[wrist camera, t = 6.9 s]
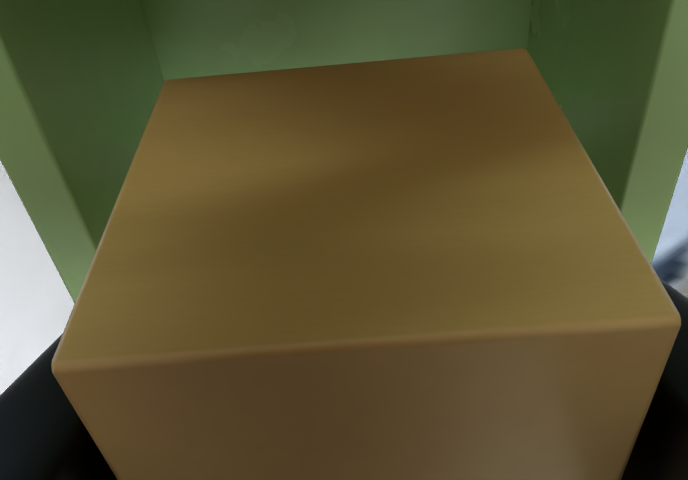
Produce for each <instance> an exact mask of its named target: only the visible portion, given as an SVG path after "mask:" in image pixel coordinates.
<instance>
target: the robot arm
mask: <svg viewBox="0 0 688 480" xmlns="http://www.w3.org/2000/svg"><path fill="white" fill-rule="evenodd" d="M659 279H660V278H659ZM660 281H661V283H662V284H663V286H664V288H665V290H666V291H667V293H668V295H669V296H670V298H671V300H672V302H673V303H674V305H675V307H676V309H677V310H678V312H679V314H680V318H681V327H680V329H679V332H678V334H677V337H676V340H675V342H674V345H673V347H672V350H671V352H670V355H669V357H668V360H667V363H666V365H665V368H664V370H663V373H662V375H661V378H660V381H659V383H658V386H657V388H656V391H655V393H654V396H653V398H652V401H651V404H650V406H649V409H648V411H647V414H646V416H645V419H644V422H643V424H642V427H641V429H640V432H639V434H638V437H637V439H636V442H635V445H634V447H633V450H632V452H631V455H630V457H629V460H628V463H627V465H626V468H625V470H624V473H623V475H622V478H621V480H688V298H686V297H685V296H683V295H682V294H681V293H679V292H678V291H677V290H675V289H674V288H672V287H671V286H670V285H668V284H667V283H665V282H664V281H663V280H661V279H660ZM62 335H63V334H62ZM62 335H61V336H60V337H59V338H58V339H57V340H56V341H55V342H54V343H53V344H52V345H51V346H50V347H49V348H48V349H47V350H46V351H45V352H44V353H43V354H42V355H41V356H39V357H38V358H37V359H36V360H35V361H34V362H33V363H32V364H31V365H30V366H29V367H28V368H27V369H26V370H25V371H24V372H23V373H22V374H21V375H20V376H19V377H18V378H17V379H16V380H15V381H14V382H13V383H12V384H11V385H10V386H9V387H8V388H7V389H6V390H5V391H4V392H3V393H2V394H1V395H0V480H117V478H116V476H115V475H114V473H113V471H112V470H111V468H110V466H109V465H108V463H107V462H106V460H105V458H104V457H103V455H102V453H101V452H100V450H99V448H98V447H97V445H96V444H95V442H94V440H93V439H92V437H91V435H90V434H89V432H88V430H87V429H86V427H85V426H84V424H83V422H82V421H81V419H80V417H79V416H78V414H77V413H76V411H75V409H74V408H73V406H72V404H71V403H70V401H69V399H68V398H67V396H66V395H65V393H64V391H63V390H62V388H61V386H60V385H59V383H58V381H57V380H56V378H55V377H54V375H53V373H52V359H53V357H54V354H55V352H56V349H57V347H58V344H59V342H60V339H61V337H62Z"/></svg>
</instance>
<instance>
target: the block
mask: <svg viewBox="0 0 688 480" xmlns="http://www.w3.org/2000/svg"><path fill="white" fill-rule="evenodd" d="M680 327H681V318H680V314H679V312H678V310H677V309H676V307H675V305H674V303H673V302H672V300H671V298H670V296H669V295H668V293H667V291H666V290H665V288H664V286H663V284H662V283H661V281H660V279H659V277H658V276H657V274H656V272H655V270H654V269H653V267H652V265H651V264H650V262H649V260H648V258H647V257H646V255H645V253H644V251H643V250H642V248H641V246H640V245H639V243H638V241H637V239H636V238H635V236H634V234H633V232H632V231H631V229H630V227H629V225H628V224H627V222H626V220H625V219H624V217H623V215H622V213H621V212H620V210H619V208H618V206H617V205H616V203H615V201H614V200H613V198H612V196H611V194H610V193H609V191H608V189H607V187H606V186H605V184H604V182H603V180H602V179H601V177H600V175H599V174H598V172H597V170H596V168H595V167H594V165H593V163H592V161H591V160H590V158H589V156H588V155H587V153H586V151H585V149H584V148H583V146H582V144H581V142H580V141H579V139H578V137H577V135H576V134H575V132H574V130H573V129H572V127H571V125H570V123H569V122H568V120H567V118H566V116H565V115H564V113H563V111H562V110H561V108H560V106H559V104H558V103H557V101H556V99H555V97H554V96H553V94H552V92H551V90H550V89H549V87H548V85H547V84H546V82H545V80H544V78H543V77H542V75H541V73H540V71H539V70H538V68H537V66H536V65H535V63H534V61H533V59H532V58H531V56H530V54H529V52H528V51H527V49H524V48H515V49H504V50H493V51H482V52H471V53H460V54H448V55H437V56H426V57H415V58H404V59H393V60H382V61H370V62H359V63H348V64H337V65H326V66H315V67H304V68H293V69H281V70H270V71H259V72H248V73H237V74H226V75H215V76H203V77H192V78H181V79H170V80H167V81H165V82H164V84H163V86H162V89H161V91H160V94H159V96H158V99H157V101H156V103H155V106H154V108H153V111H152V113H151V116H150V118H149V121H148V123H147V126H146V128H145V131H144V133H143V136H142V138H141V141H140V143H139V146H138V148H137V151H136V153H135V156H134V158H133V161H132V163H131V166H130V168H129V171H128V173H127V176H126V178H125V180H124V183H123V185H122V188H121V190H120V193H119V195H118V198H117V200H116V203H115V205H114V208H113V210H112V213H111V215H110V218H109V220H108V223H107V225H106V228H105V230H104V233H103V235H102V238H101V240H100V243H99V245H98V248H97V250H96V253H95V255H94V258H93V260H92V262H91V265H90V267H89V270H88V272H87V275H86V277H85V280H84V282H83V285H82V287H81V290H80V292H79V295H78V297H77V300H76V302H75V305H74V307H73V310H72V312H71V315H70V317H69V320H68V322H67V325H66V327H65V330H64V332H63V335H62V337H61V339H60V342H59V344H58V347H57V349H56V352H55V354H54V357H53V359H52V373H53V375H54V377H55V378H56V380H57V381H58V383H59V385H60V386H61V388H62V390H63V391H64V393H65V395H66V396H67V398H68V399H69V401H70V403H71V404H72V406H73V408H74V409H75V411H76V413H77V414H78V416H79V417H80V419H81V421H82V422H83V424H84V426H85V427H86V429H87V430H88V432H89V434H90V435H91V437H92V439H93V440H94V442H95V444H96V445H97V447H98V448H99V450H100V452H101V453H102V455H103V457H104V458H105V460H106V462H107V463H108V465H109V466H110V468H111V470H112V471H113V473H114V475H115V476H116V478H117V480H621V478H622V475H623V473H624V470H625V468H626V465H627V463H628V460H629V457H630V455H631V452H632V450H633V447H634V445H635V442H636V439H637V437H638V434H639V432H640V429H641V427H642V424H643V422H644V419H645V416H646V414H647V411H648V409H649V406H650V404H651V401H652V398H653V396H654V393H655V391H656V388H657V386H658V383H659V381H660V378H661V375H662V373H663V370H664V368H665V365H666V363H667V360H668V357H669V355H670V352H671V350H672V347H673V345H674V342H675V340H676V337H677V334H678V332H679V329H680Z"/></svg>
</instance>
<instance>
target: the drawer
mask: <svg viewBox="0 0 688 480" xmlns="http://www.w3.org/2000/svg"><path fill="white" fill-rule="evenodd" d="M515 48H524V49H527V51H528V52H529V54H530V56H531V58H532V59H533V61H534V63H535V65H536V66H537V68H538V70H539V71H540V73H541V75H542V77H543V78H544V80H545V82H546V84H547V85H548V87H549V89H550V90H551V92H552V94H553V96H554V97H555V99H556V101H557V103H558V104H559V106H560V108H561V110H562V111H563V113H564V115H565V116H566V118H567V120H568V122H569V123H570V125H571V127H572V129H573V130H574V132H575V134H576V135H577V137H578V139H579V141H580V142H581V144H582V146H583V148H584V149H585V151H586V153H587V155H588V156H589V158H590V160H591V161H592V163H593V165H594V167H595V168H596V170H597V172H598V174H599V175H600V177H601V179H602V180H603V182H604V184H605V186H606V187H607V189H608V191H609V193H610V194H611V196H612V198H613V200H614V201H615V203H616V205H617V206H618V208H619V210H620V212H621V213H622V215H623V217H624V219H625V220H626V222H627V224H628V225H629V227H630V229H631V231H632V232H633V234H634V236H635V238H636V239H637V241H638V243H639V245H640V246H641V248H642V250H643V251H644V253H645V255H646V257H647V258H648V260H649V262H650V264H651V263H652V260H653V256H654V253H655V250H656V247H657V244H658V240H659V237H660V234H661V231H662V228H663V224H664V221H665V218H666V215H667V212H668V209H669V205H670V202H671V199H672V196H673V193H674V189H675V186H676V183H677V180H678V177H679V173H680V170H681V167H682V164H683V161H684V157H685V154H686V151H687V148H688V0H0V160H1V162H2V164H3V166H4V168H5V170H6V172H7V174H8V176H9V178H10V179H11V181H12V183H13V185H14V187H15V189H16V191H17V193H18V195H19V197H20V199H21V201H22V203H23V205H24V206H25V208H26V210H27V212H28V214H29V216H30V218H31V220H32V222H33V224H34V226H35V228H36V230H37V232H38V234H39V235H40V237H41V239H42V241H43V243H44V245H45V247H46V249H47V251H48V253H49V255H50V257H51V259H52V261H53V262H54V264H55V266H56V268H57V270H58V272H59V274H60V276H61V278H62V280H63V282H64V284H65V286H66V288H67V290H68V291H69V293H70V295H71V297H72V299H73V301H74V303H75V302H76V300H77V297H78V295H79V292H80V290H81V287H82V285H83V282H84V280H85V277H86V275H87V272H88V270H89V267H90V265H91V262H92V260H93V258H94V255H95V253H96V250H97V248H98V245H99V243H100V240H101V238H102V235H103V233H104V230H105V228H106V225H107V223H108V220H109V218H110V215H111V213H112V210H113V208H114V205H115V203H116V200H117V198H118V195H119V193H120V190H121V188H122V185H123V183H124V180H125V178H126V176H127V173H128V171H129V168H130V166H131V163H132V161H133V158H134V156H135V153H136V151H137V148H138V146H139V143H140V141H141V138H142V136H143V133H144V131H145V128H146V126H147V123H148V121H149V118H150V116H151V113H152V111H153V108H154V106H155V103H156V101H157V99H158V96H159V94H160V91H161V89H162V86H163V84H164V82H165V81H167V80H170V79H181V78H192V77H203V76H215V75H226V74H237V73H248V72H259V71H270V70H281V69H293V68H304V67H315V66H326V65H337V64H348V63H359V62H370V61H382V60H393V59H404V58H415V57H426V56H437V55H448V54H460V53H471V52H482V51H493V50H504V49H515Z"/></svg>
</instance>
